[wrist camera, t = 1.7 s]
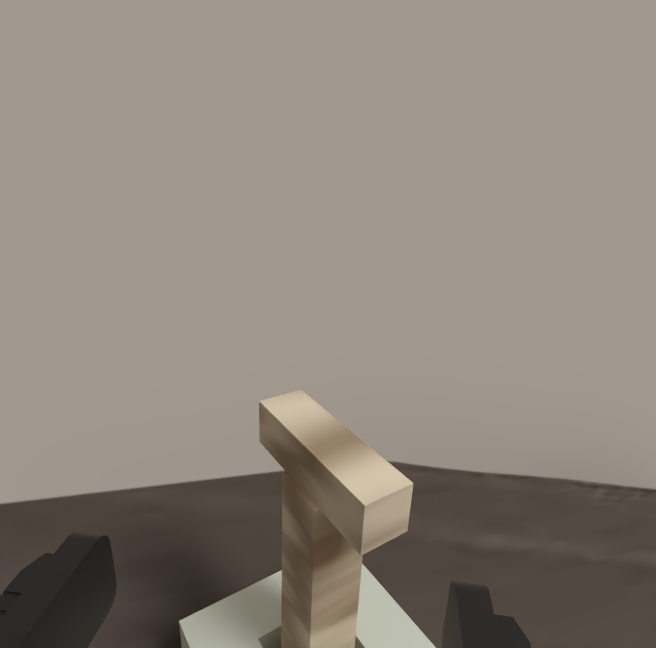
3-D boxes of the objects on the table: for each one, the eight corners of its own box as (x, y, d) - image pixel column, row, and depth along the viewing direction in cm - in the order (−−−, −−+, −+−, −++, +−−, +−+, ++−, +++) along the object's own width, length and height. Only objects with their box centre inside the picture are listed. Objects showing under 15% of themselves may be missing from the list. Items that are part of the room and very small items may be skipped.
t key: (258, 648, 32) (254, 402, 25) (298, 626, 34) (304, 388, 27) (336, 794, 25) (359, 508, 18) (381, 756, 27) (417, 481, 20)
